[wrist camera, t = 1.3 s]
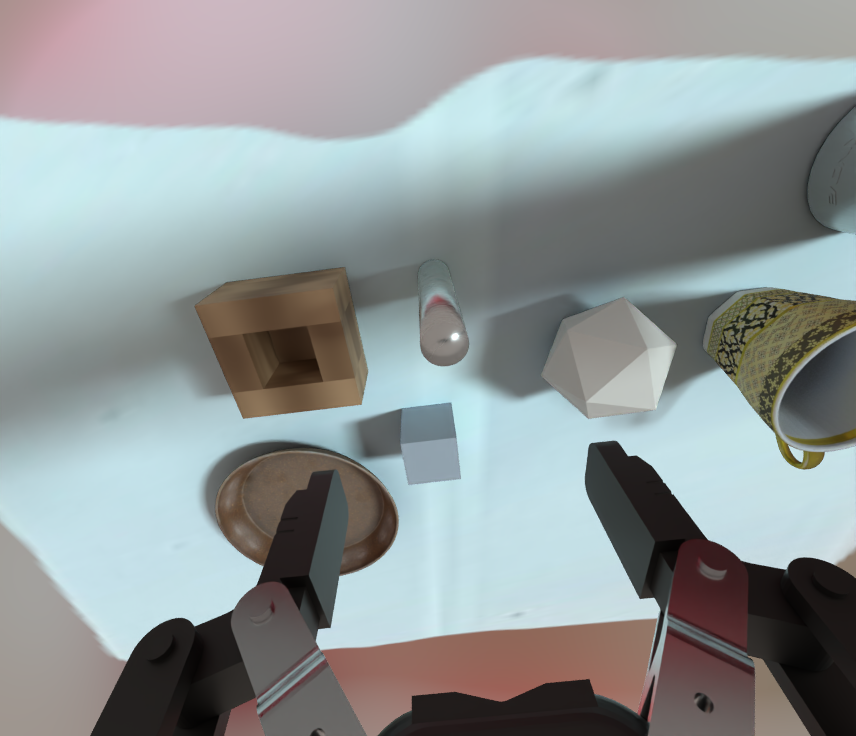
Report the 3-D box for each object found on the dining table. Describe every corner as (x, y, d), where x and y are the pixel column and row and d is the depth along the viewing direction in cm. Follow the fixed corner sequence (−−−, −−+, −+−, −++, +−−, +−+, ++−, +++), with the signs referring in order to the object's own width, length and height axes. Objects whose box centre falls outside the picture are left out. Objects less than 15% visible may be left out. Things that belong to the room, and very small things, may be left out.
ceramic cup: (692, 275, 31) (803, 327, 22) (825, 256, 30) (992, 301, 22) (666, 411, 37) (745, 493, 28) (776, 396, 37) (890, 475, 28)
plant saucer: (188, 473, 39) (172, 497, 37) (340, 404, 36) (335, 424, 33) (295, 570, 47) (288, 596, 44) (428, 521, 44) (429, 545, 41)
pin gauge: (447, 257, 29) (467, 319, 19) (450, 288, 31) (470, 363, 20) (416, 261, 29) (417, 325, 19) (420, 292, 31) (423, 368, 20)
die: (517, 370, 35) (594, 460, 30) (525, 308, 28) (629, 414, 23) (590, 327, 36) (674, 406, 32) (616, 257, 29) (732, 346, 24)
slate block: (451, 402, 36) (456, 437, 31) (455, 440, 38) (460, 478, 34) (401, 408, 36) (400, 444, 32) (408, 446, 38) (408, 484, 34)
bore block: (344, 267, 29) (332, 287, 25) (368, 371, 34) (361, 404, 29) (226, 282, 30) (194, 305, 25) (264, 383, 34) (243, 418, 30)
